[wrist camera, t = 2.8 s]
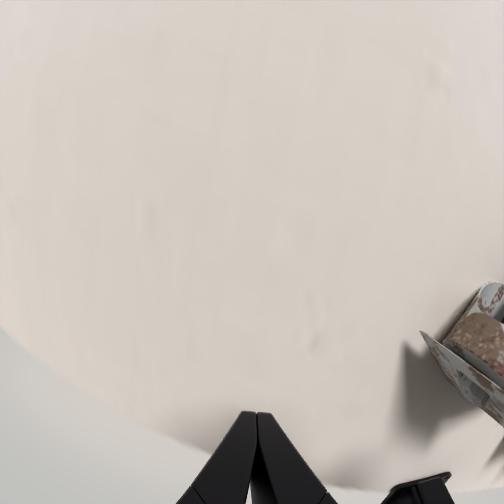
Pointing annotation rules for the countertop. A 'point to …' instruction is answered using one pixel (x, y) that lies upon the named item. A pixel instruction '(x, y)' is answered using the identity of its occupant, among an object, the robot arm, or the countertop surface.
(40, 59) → the countertop surface
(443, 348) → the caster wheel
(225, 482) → the robot arm
